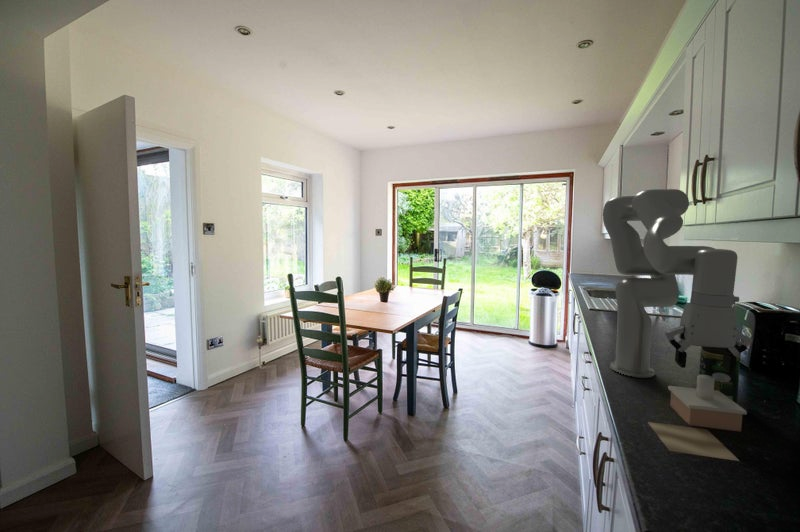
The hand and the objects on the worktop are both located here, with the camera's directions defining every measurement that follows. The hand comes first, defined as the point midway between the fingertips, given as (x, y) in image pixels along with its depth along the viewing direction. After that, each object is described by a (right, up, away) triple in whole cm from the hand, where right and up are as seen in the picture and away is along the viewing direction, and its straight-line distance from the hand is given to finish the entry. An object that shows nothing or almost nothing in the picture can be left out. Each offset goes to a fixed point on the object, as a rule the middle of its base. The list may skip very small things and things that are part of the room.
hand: (703, 367), depth 87 cm
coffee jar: (+11, -13, +8) cm, 19 cm away
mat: (-11, -14, -9) cm, 20 cm away
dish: (0, -13, 0) cm, 13 cm away
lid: (0, -8, 0) cm, 8 cm away
